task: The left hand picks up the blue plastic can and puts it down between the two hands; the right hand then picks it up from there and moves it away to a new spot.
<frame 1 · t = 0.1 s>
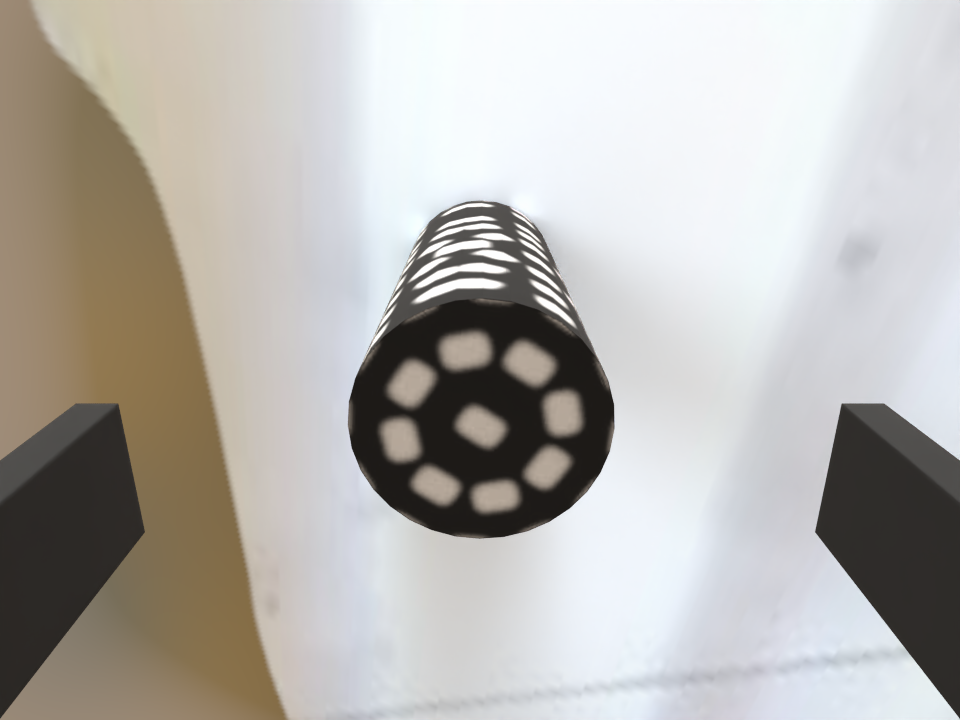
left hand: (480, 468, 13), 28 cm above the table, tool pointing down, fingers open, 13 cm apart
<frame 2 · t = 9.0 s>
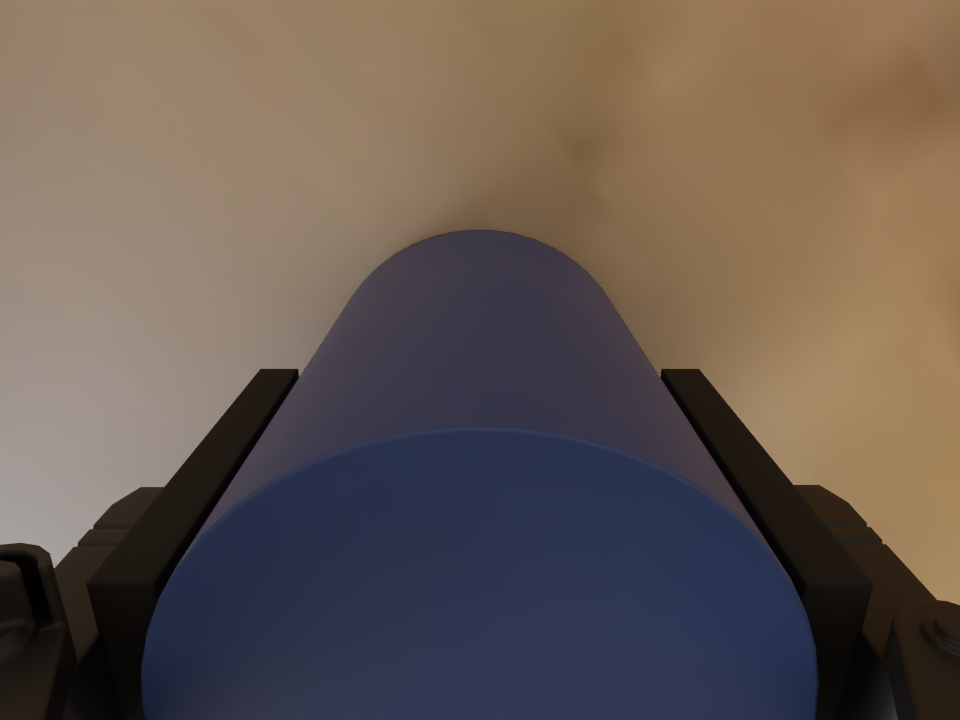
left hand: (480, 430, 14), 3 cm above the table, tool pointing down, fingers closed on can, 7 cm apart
can: (479, 378, 17), on the table, touching left hand
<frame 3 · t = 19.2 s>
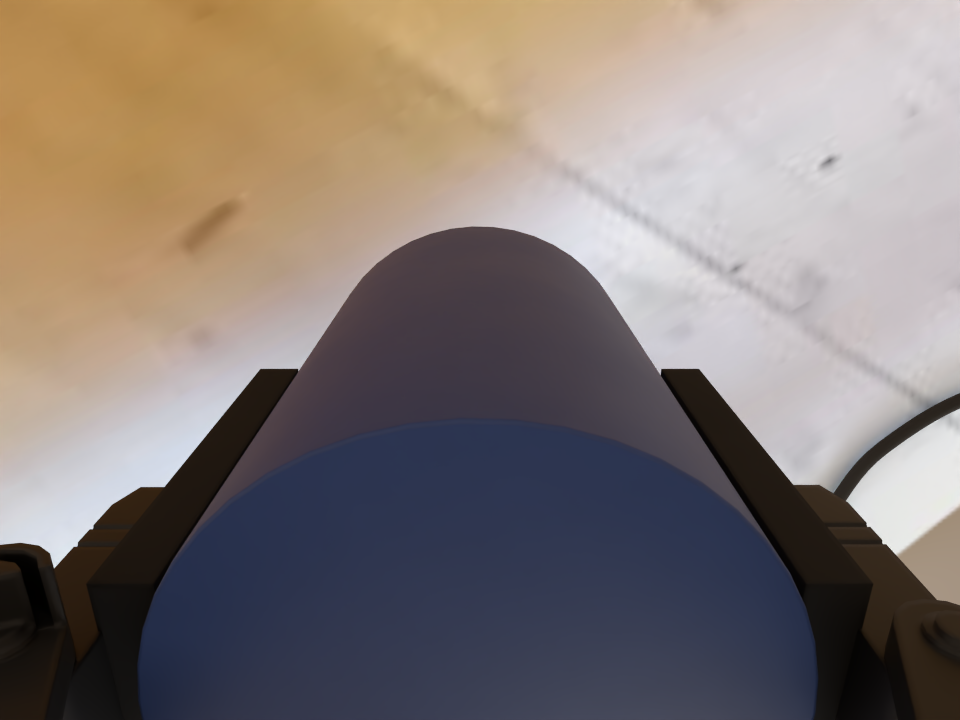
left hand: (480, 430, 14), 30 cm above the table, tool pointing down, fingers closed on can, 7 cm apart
can: (478, 375, 17), point 27 cm above the table, touching left hand
when the left hand's fingers open (5 cm above the table, at t = 29.5 s): can drops 2 cm, on the table.
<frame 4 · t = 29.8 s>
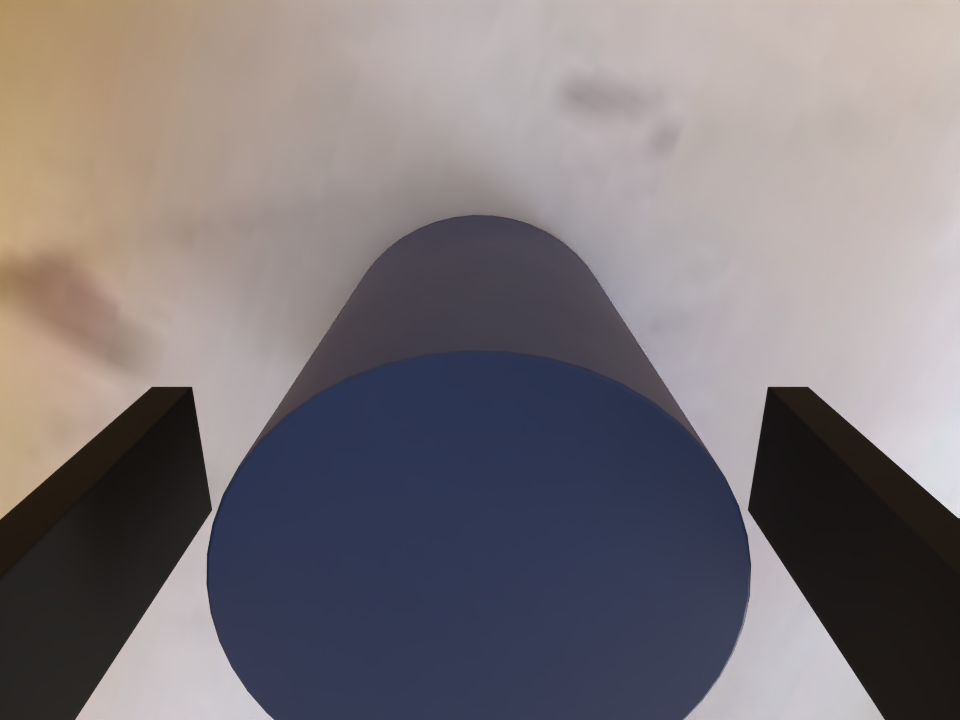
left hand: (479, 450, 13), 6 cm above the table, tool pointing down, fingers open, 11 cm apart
can: (479, 350, 19), on the table
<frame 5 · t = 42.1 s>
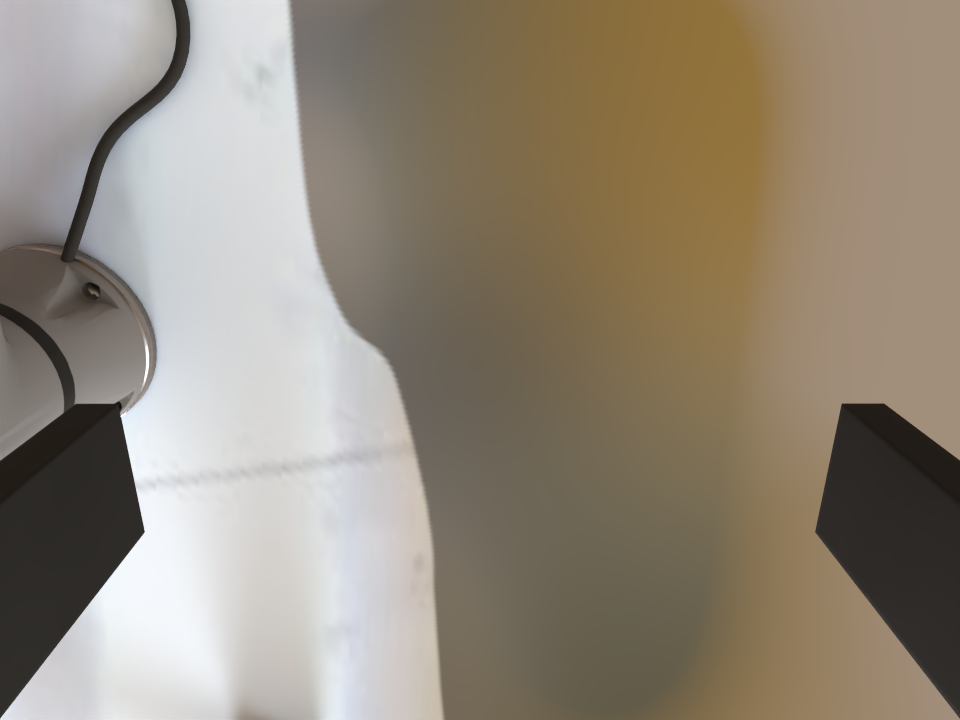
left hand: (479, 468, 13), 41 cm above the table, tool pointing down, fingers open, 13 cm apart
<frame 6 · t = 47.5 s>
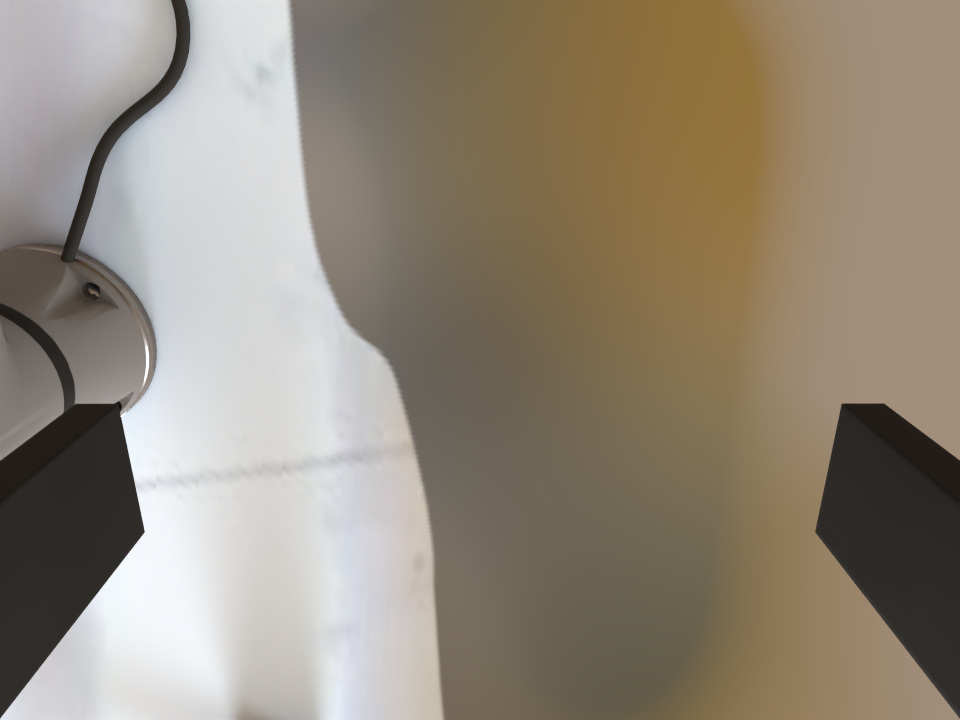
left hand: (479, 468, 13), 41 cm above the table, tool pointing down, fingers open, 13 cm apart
when the right hand's fingers open (5 cm above the table, at t = 53.2 s): can drops 2 cm, on the table.
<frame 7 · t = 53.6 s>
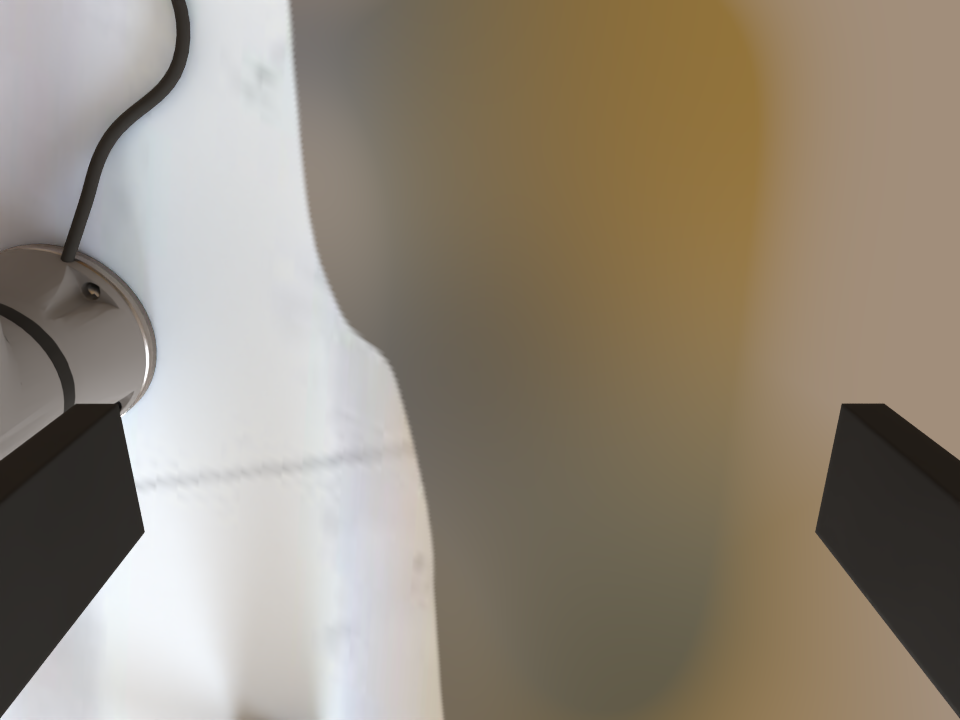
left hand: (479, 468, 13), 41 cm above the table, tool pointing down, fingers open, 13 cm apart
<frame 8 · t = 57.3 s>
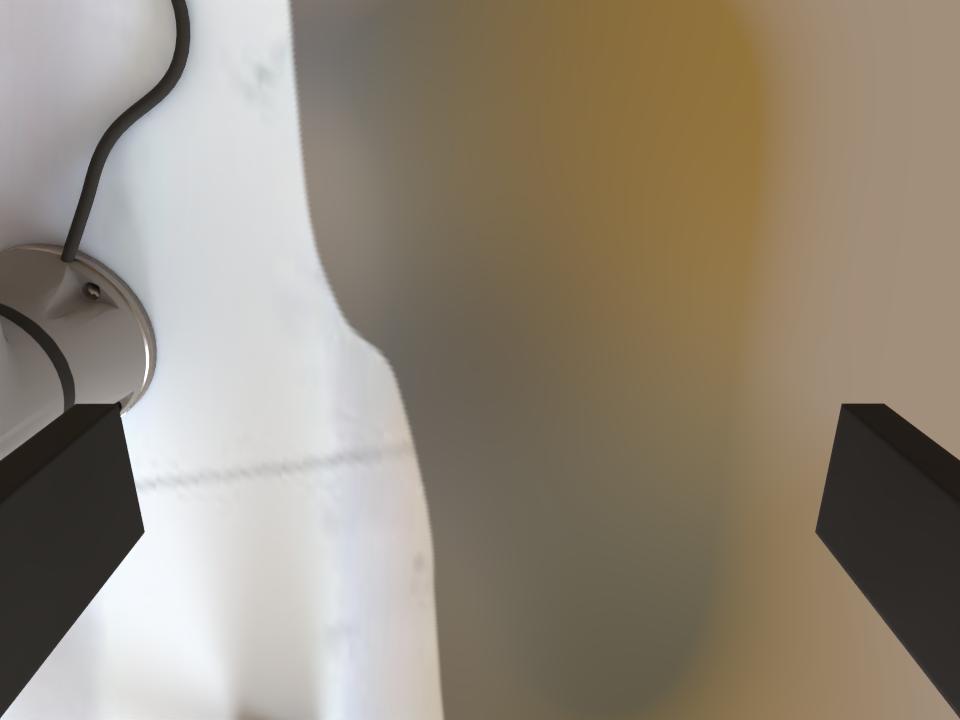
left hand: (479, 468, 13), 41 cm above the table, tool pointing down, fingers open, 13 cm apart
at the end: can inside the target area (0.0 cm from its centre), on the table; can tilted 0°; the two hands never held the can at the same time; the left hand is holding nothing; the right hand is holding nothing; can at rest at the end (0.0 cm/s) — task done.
